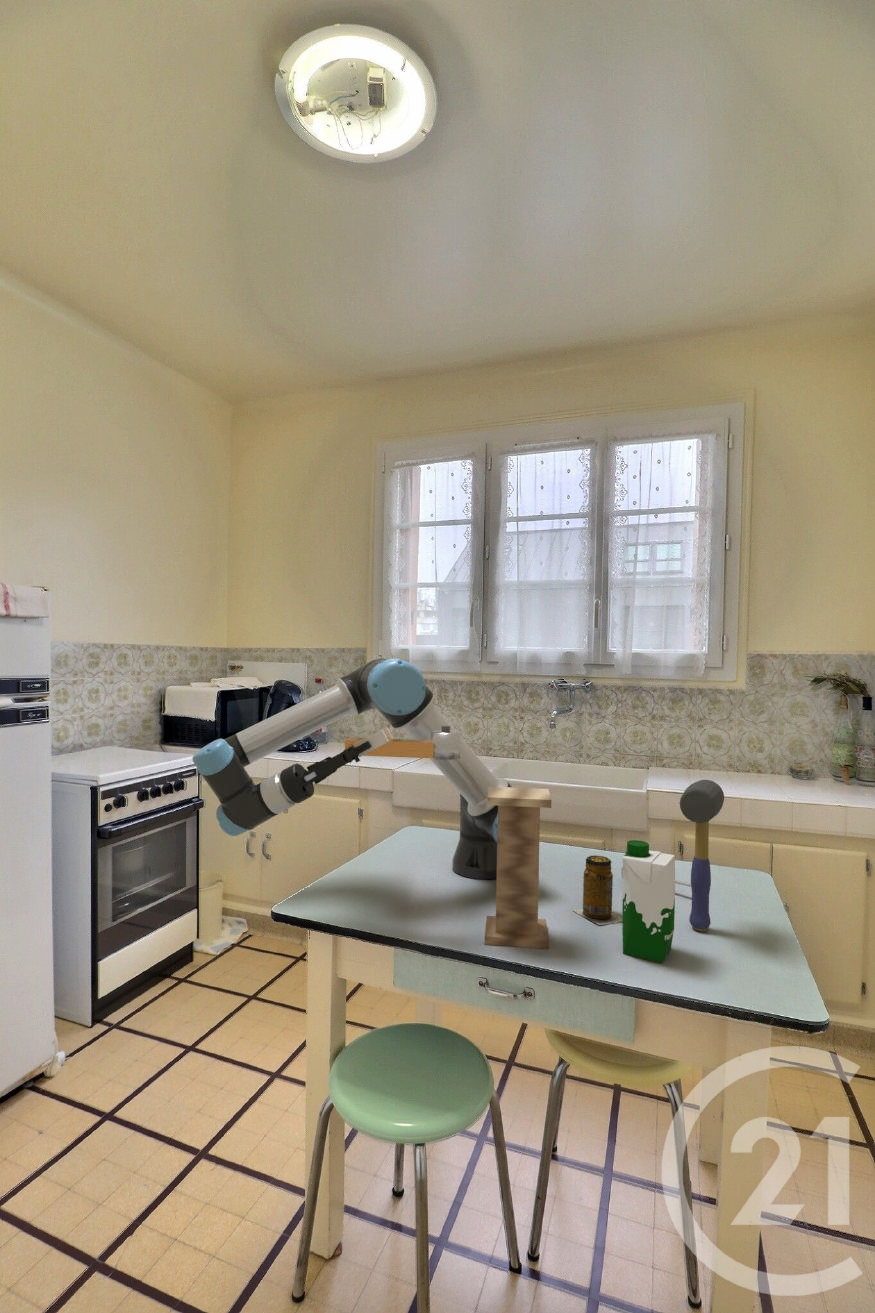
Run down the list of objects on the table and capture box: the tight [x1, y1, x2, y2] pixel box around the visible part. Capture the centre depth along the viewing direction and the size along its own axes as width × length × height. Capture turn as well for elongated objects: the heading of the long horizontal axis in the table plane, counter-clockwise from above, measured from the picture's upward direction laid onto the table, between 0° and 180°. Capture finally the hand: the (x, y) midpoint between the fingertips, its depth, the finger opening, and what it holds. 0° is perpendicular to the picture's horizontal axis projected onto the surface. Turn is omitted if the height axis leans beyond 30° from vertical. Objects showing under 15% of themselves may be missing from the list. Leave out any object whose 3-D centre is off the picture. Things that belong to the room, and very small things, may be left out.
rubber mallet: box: [679, 779, 725, 932], centre depth 132 cm, size 12×8×30 cm, turn 149°
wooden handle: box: [344, 726, 462, 760], centre depth 130 cm, size 23×6×6 cm, turn 83°
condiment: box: [573, 854, 622, 926], centre depth 138 cm, size 7×8×12 cm
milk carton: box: [621, 839, 676, 964], centre depth 122 cm, size 9×9×20 cm
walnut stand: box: [484, 786, 552, 950], centre depth 128 cm, size 12×10×28 cm
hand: (387, 734), depth 131 cm, fingers closed on wooden handle, 4 cm apart
